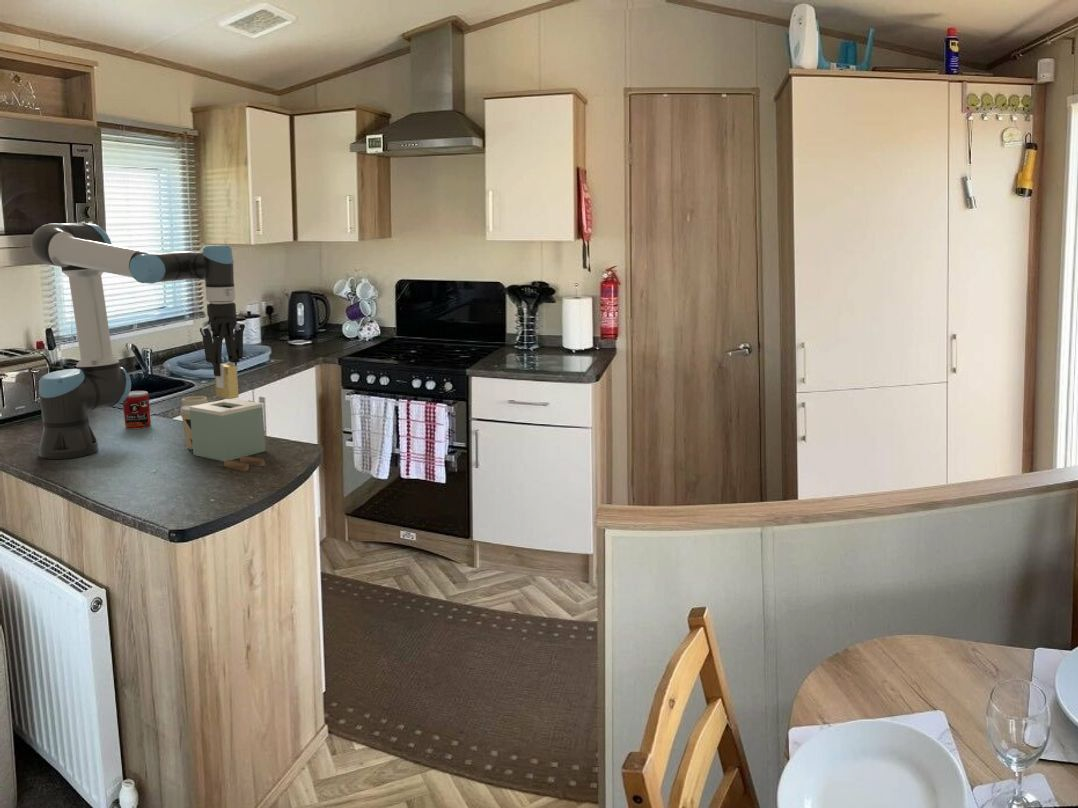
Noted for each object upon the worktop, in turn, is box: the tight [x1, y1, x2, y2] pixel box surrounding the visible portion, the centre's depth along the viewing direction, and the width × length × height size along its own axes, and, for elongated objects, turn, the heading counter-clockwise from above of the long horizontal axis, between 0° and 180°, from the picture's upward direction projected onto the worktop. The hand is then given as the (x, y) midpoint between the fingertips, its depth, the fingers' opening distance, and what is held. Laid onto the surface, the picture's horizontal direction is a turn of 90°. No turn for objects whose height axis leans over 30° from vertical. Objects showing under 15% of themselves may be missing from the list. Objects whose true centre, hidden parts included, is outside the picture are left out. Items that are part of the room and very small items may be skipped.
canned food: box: [122, 390, 152, 429], centre depth 295 cm, size 8×8×11 cm
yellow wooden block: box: [214, 363, 240, 399], centre depth 255 cm, size 3×6×9 cm, turn 56°
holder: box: [223, 456, 266, 472], centre depth 248 cm, size 7×8×2 cm
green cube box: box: [190, 398, 266, 462], centre depth 261 cm, size 14×14×14 cm
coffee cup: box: [180, 404, 200, 450], centre depth 268 cm, size 9×9×12 cm
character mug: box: [180, 395, 210, 418], centre depth 275 cm, size 11×7×13 cm, turn 156°
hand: (226, 386), depth 256 cm, fingers closed on yellow wooden block, 3 cm apart
